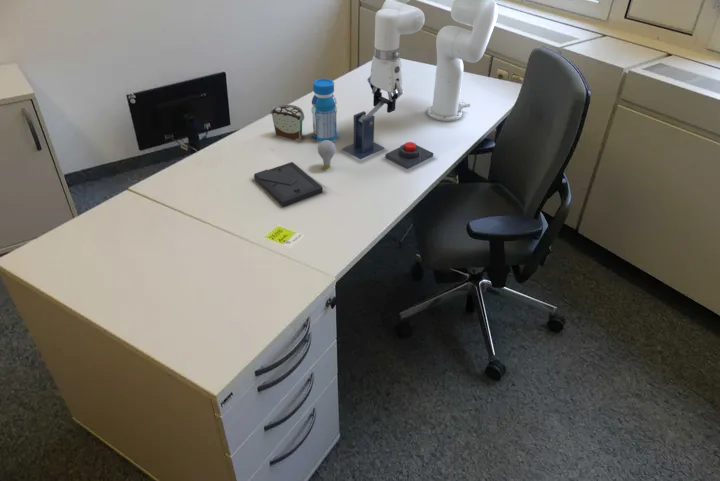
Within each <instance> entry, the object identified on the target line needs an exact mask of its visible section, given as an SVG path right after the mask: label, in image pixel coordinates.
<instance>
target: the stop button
mask: <svg viewBox="0 0 720 481" xmlns="http://www.w3.org/2000/svg"><path fill="white" fill-rule="evenodd" d="M404 144H405V146H404V150H405V151H408V152H414V151H415V150H416V145H417V144H416V142H413V141H407V142H405V143H404Z"/></svg>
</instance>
